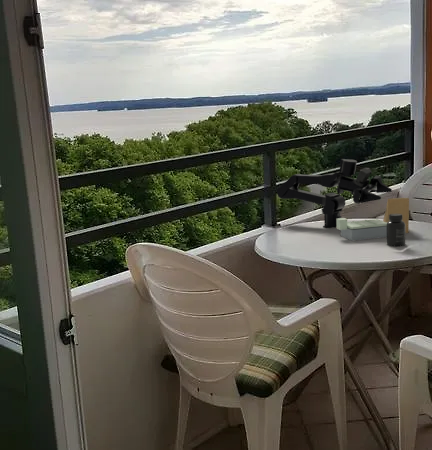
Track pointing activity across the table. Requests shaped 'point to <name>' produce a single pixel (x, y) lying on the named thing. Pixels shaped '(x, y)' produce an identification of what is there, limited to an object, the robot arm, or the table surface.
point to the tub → (364, 233)
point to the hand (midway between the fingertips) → (386, 194)
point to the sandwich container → (398, 210)
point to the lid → (358, 224)
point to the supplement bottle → (395, 231)
